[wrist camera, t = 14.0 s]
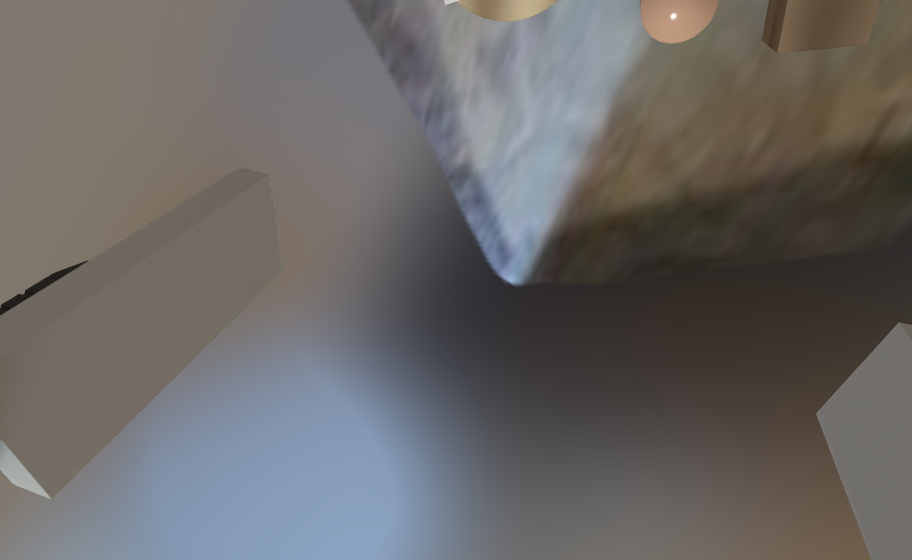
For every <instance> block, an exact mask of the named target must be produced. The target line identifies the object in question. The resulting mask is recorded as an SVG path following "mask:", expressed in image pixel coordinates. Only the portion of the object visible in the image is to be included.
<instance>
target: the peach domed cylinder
mask: <svg viewBox="0 0 912 560" xmlns="http://www.w3.org/2000/svg"><path fill="white" fill-rule="evenodd" d="M718 2H719V0H640V10H641V18H642V22H643V25H644V27H645V29H646V31H647V32H648V33H649V34H650V35H651V36H652V37H653V38H654V39H656V40H658V41H661V42H664V43H679V42H683V41H686V40H688V39H691V38H692V37H694V36H696V35H697V34H698V33H700V32H701V31H702V30H703V29H704V28H705V27H706V26H707V25H708V24H709V22H710V21H711V19H712V18H713V16H714V14H715V12H716V9H717V6H718Z"/></svg>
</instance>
